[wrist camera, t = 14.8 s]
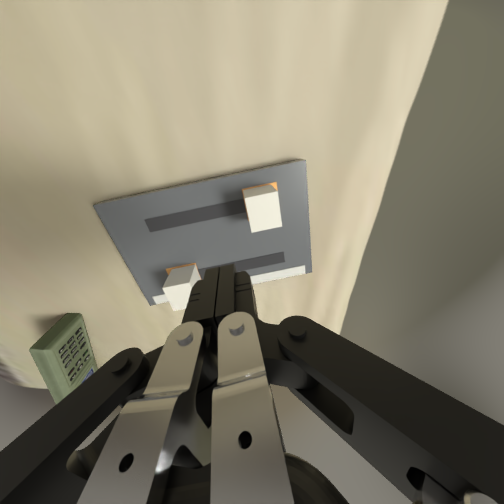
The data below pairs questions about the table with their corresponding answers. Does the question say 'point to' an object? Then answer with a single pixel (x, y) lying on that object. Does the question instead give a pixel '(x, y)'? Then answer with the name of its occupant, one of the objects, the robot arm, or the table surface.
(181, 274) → the outer switch
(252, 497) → the robot arm
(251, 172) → the switch panel
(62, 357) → the handheld radio
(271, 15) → the table surface
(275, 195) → the inner switch
